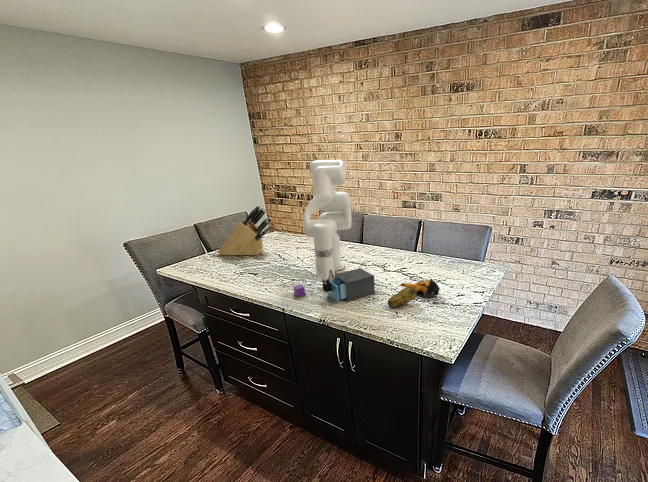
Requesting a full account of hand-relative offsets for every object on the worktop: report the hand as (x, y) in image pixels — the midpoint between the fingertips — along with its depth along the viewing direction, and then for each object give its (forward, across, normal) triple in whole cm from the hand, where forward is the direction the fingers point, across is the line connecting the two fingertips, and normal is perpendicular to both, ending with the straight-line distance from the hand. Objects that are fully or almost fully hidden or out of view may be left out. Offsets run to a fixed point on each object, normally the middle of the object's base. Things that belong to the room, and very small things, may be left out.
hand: (327, 291), depth 152 cm
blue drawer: (+4, 0, +6) cm, 7 cm away
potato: (+5, +24, +24) cm, 34 cm away
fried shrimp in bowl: (+5, +20, +38) cm, 43 cm away
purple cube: (+5, -14, -8) cm, 17 cm away
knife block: (+4, -97, -10) cm, 98 cm away
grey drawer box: (+5, 0, +14) cm, 15 cm away
